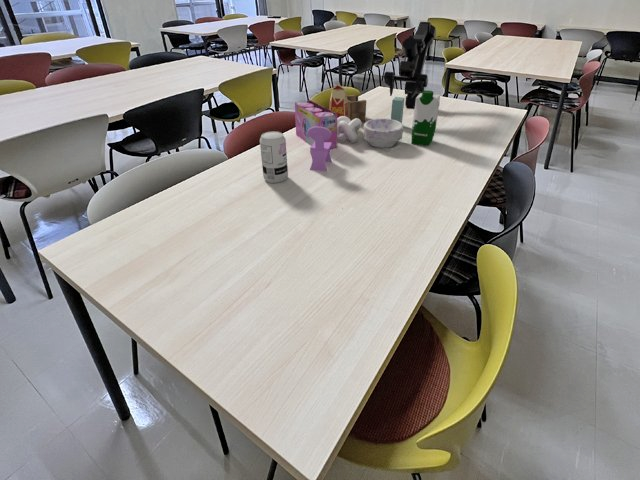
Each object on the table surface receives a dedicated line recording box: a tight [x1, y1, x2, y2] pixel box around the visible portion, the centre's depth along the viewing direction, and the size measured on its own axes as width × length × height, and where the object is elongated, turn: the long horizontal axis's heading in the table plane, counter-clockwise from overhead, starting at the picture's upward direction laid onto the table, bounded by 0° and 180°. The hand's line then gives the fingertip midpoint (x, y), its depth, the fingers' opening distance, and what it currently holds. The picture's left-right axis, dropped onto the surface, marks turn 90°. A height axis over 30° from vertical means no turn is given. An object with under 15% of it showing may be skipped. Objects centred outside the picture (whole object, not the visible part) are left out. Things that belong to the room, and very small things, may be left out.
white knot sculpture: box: [337, 116, 362, 144], centre depth 158 cm, size 11×12×9 cm
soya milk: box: [410, 90, 441, 147], centre depth 151 cm, size 9×9×20 cm
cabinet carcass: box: [347, 94, 367, 123], centre depth 180 cm, size 10×11×10 cm
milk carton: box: [328, 81, 349, 133], centre depth 166 cm, size 9×9×20 cm
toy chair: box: [308, 126, 333, 172], centre depth 136 cm, size 8×9×15 cm
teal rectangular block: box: [390, 96, 406, 124], centre depth 170 cm, size 5×4×12 cm
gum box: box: [294, 99, 338, 151], centre depth 156 cm, size 24×8×14 cm, turn 28°
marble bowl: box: [363, 118, 404, 149], centre depth 154 cm, size 15×15×8 cm
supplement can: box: [259, 130, 289, 184], centre depth 127 cm, size 8×8×15 cm
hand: (400, 96), depth 169 cm, fingers open, 9 cm apart
